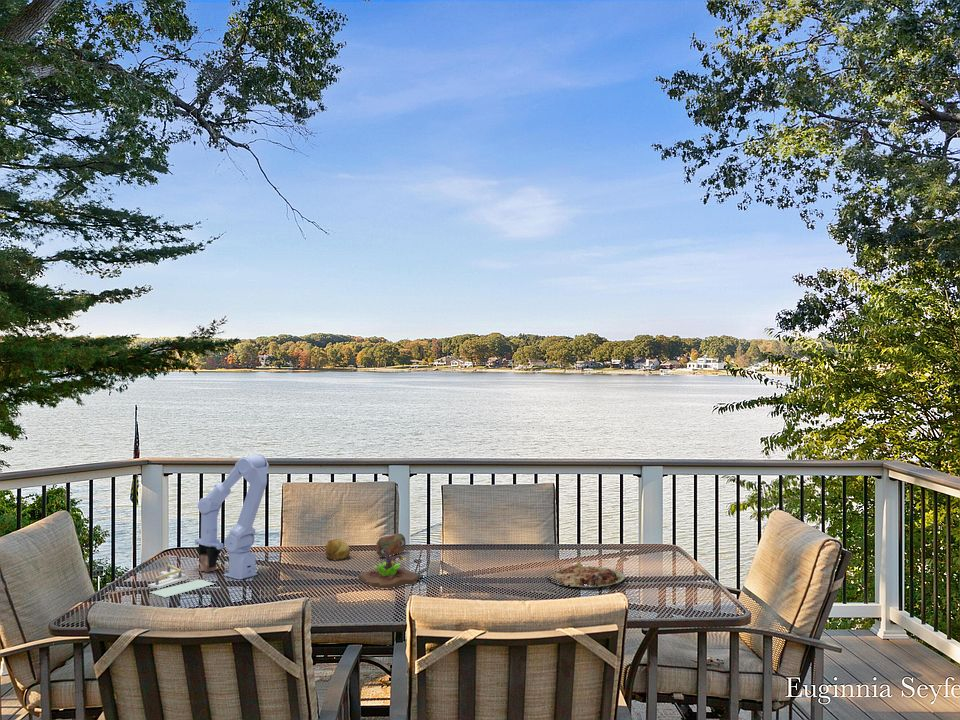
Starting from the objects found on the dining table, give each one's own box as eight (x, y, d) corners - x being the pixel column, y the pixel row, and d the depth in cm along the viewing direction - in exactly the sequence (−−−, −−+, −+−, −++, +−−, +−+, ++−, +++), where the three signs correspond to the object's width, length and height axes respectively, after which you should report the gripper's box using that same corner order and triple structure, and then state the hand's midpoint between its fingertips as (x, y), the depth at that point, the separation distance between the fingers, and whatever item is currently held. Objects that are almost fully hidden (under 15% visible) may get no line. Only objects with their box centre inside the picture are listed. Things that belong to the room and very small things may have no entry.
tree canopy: (380, 559, 285) (380, 538, 286) (374, 558, 287) (375, 537, 288) (406, 552, 297) (406, 532, 298) (400, 551, 299) (400, 531, 300)
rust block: (216, 570, 267) (216, 554, 267) (207, 572, 263) (207, 556, 263) (209, 568, 269) (210, 552, 269) (200, 571, 266) (200, 554, 266)
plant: (396, 571, 269) (397, 541, 270) (426, 583, 254) (426, 551, 254) (349, 580, 257) (350, 549, 257) (377, 593, 241) (378, 559, 242)
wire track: (199, 578, 255) (200, 568, 256) (156, 590, 242) (156, 579, 242) (172, 571, 265) (172, 561, 265) (128, 582, 251) (129, 571, 251)
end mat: (215, 584, 248) (215, 583, 248) (165, 598, 233) (165, 596, 233) (199, 580, 253) (199, 579, 253) (149, 593, 238) (149, 592, 238)
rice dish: (537, 589, 251) (537, 573, 251) (558, 567, 277) (558, 553, 277) (617, 598, 241) (617, 582, 241) (631, 574, 267) (631, 560, 267)
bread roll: (324, 554, 294) (324, 534, 294) (348, 553, 296) (348, 533, 296) (325, 562, 281) (326, 541, 281) (350, 560, 284) (351, 540, 284)
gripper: (230, 530, 266) (229, 566, 265) (206, 525, 274) (205, 561, 273) (214, 533, 260) (213, 570, 260) (190, 528, 268) (189, 564, 268)
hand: (208, 566), depth 266 cm, fingers closed on rust block, 4 cm apart
